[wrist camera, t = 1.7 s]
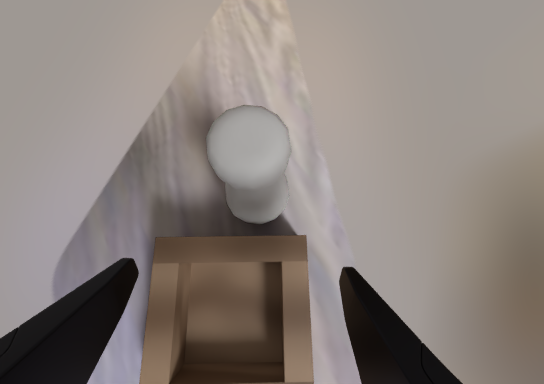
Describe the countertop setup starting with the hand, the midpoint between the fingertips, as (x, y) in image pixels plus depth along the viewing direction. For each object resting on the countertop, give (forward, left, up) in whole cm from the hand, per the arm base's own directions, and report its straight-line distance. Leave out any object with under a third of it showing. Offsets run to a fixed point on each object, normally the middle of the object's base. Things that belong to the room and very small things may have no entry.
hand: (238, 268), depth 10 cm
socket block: (-4, +2, -12) cm, 13 cm away
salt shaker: (+6, 0, -12) cm, 14 cm away
